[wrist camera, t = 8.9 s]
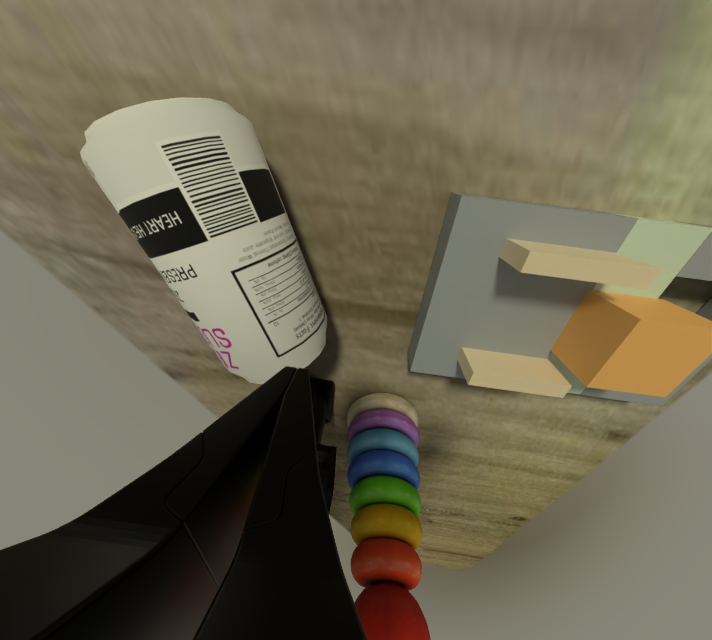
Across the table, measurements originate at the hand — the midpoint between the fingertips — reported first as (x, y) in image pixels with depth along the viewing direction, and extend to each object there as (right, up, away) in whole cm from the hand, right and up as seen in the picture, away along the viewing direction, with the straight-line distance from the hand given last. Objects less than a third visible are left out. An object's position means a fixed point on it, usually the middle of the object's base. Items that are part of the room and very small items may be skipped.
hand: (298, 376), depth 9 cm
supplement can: (-8, +12, +4) cm, 15 cm away
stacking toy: (+5, -9, +20) cm, 22 cm away
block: (+20, +2, +9) cm, 22 cm away
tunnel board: (+19, +3, +11) cm, 22 cm away
